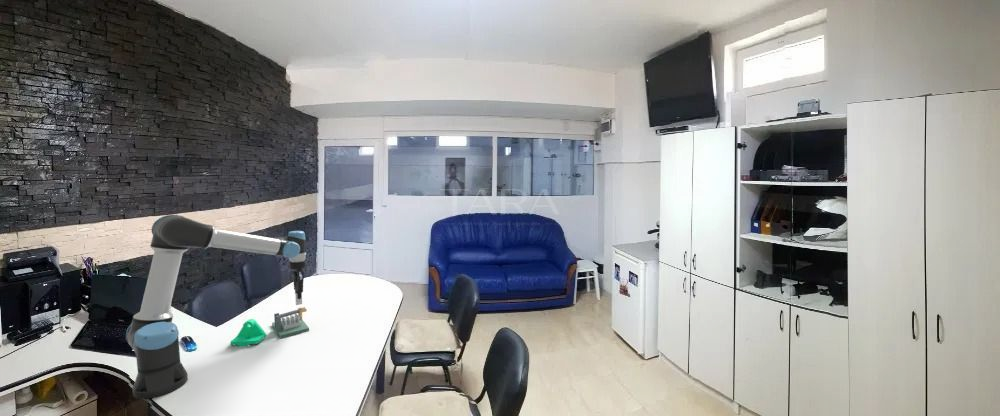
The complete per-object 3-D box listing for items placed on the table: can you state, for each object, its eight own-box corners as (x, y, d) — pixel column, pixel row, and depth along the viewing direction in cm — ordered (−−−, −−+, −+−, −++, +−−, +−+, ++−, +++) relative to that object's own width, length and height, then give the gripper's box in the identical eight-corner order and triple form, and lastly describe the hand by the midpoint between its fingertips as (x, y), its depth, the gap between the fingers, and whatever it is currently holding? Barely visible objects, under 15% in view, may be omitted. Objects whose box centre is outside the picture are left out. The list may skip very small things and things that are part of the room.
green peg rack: (309, 330, 183) (308, 314, 182) (280, 338, 174) (279, 321, 173) (299, 318, 196) (298, 303, 196) (272, 325, 188) (271, 309, 187)
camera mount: (229, 347, 165) (228, 326, 164) (239, 339, 172) (237, 319, 171) (258, 345, 167) (256, 324, 166) (265, 338, 174) (264, 318, 173)
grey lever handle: (306, 311, 188) (306, 308, 188) (276, 320, 179) (276, 317, 179) (304, 309, 191) (304, 306, 191) (275, 317, 182) (274, 314, 181)
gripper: (309, 261, 182) (310, 306, 185) (302, 257, 192) (303, 299, 194) (292, 264, 177) (294, 309, 180) (286, 259, 187) (287, 302, 189)
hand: (298, 304), depth 187 cm, fingers closed
